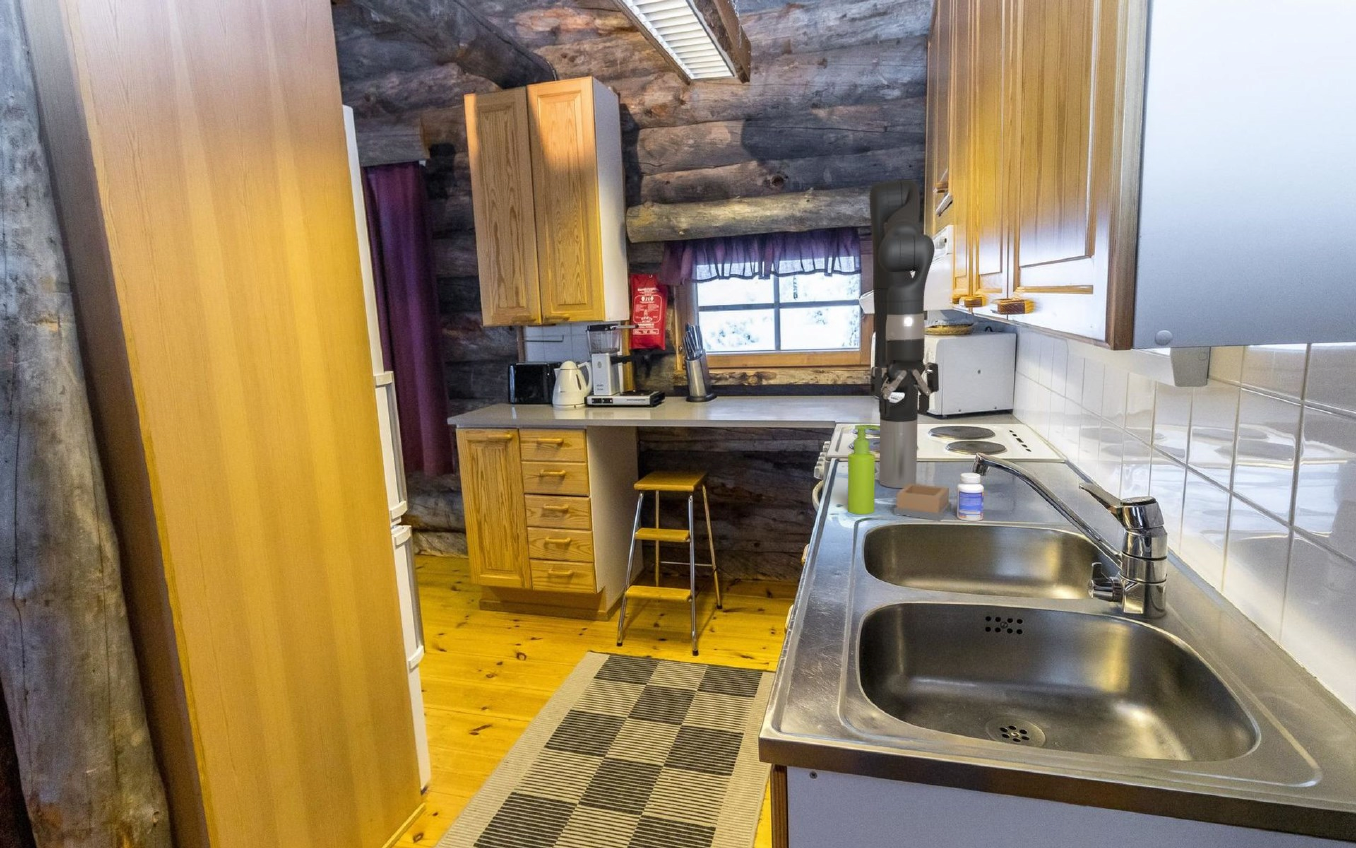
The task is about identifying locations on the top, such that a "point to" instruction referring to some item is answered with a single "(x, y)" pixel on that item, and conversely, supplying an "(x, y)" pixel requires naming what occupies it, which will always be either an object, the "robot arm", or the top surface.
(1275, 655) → the top surface
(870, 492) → the soap dispenser
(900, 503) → the box
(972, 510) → the pill bottle
